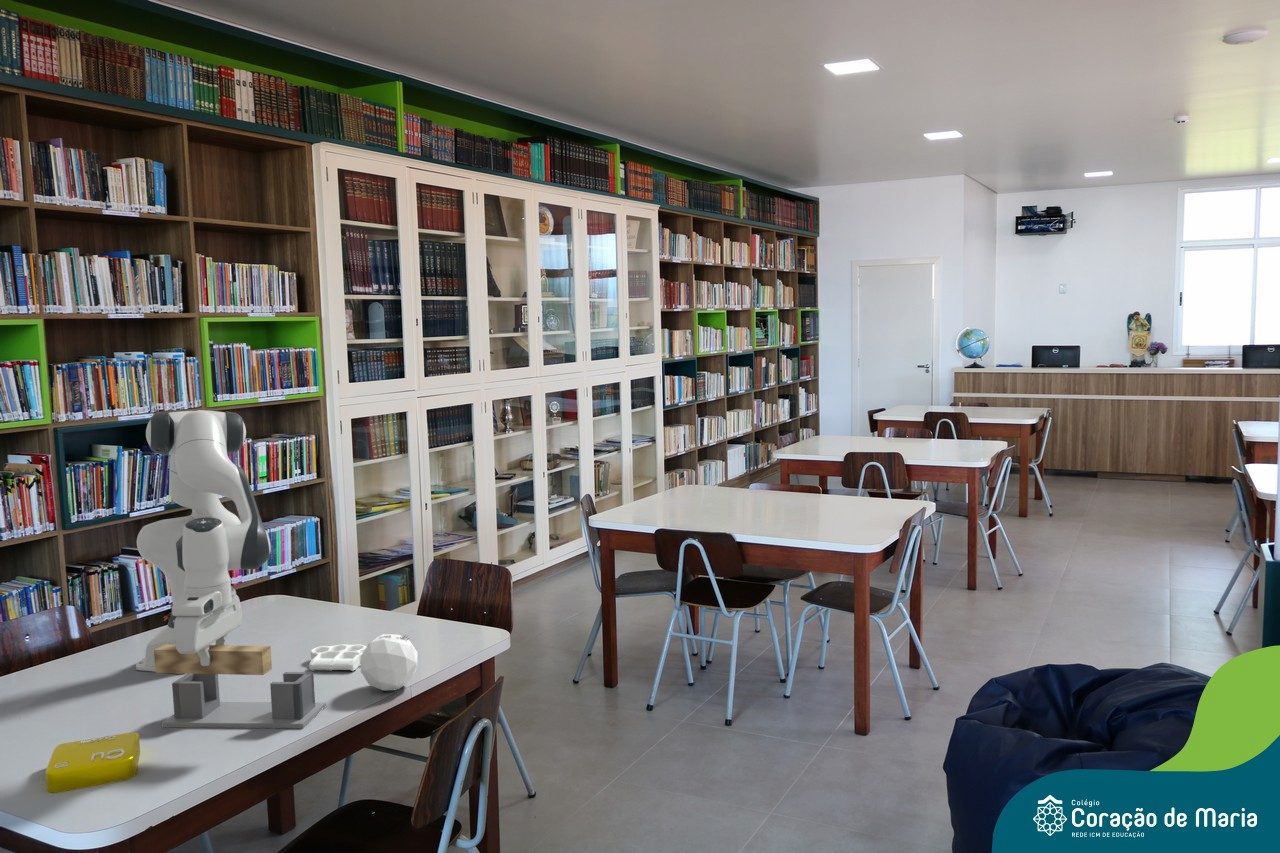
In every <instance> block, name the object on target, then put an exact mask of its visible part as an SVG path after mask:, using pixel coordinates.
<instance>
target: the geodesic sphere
mask: <svg viewBox="0 0 1280 853" xmlns="http://www.w3.org/2000/svg"><path fill="white" fill-rule="evenodd" d="M409 639H410V637H409V634H405V635H400V634H391V633H390V634H387V633H386V634H385V633H382V634H380V635H379V636H377V637H376V638H374V639H373V640H372V641H370V642H369V643H367V645H366V646H367V647H366V649H365V651H364V652H363V654H362V656H361V666H360V673H361V674H362V676H363V677H364V680H366V682H367V684H368V686H369V685H370V686H372V687H373V688H376V689H378V690H380V689H381V691H385V692H386V691H395V690H394V689H398V688H399V689H401V688H402V687H404V686H405V685H406V684H407V683H409V682H410V681H411V680H412V679H413V677H414V675H415V674H416V671H417V669H418V660H419V659H418V658H419V655H418V654H419V652H418V651H417V649H416V648H415V646H414V645H413V644H412V641H410V640H409ZM399 689H398V690H399Z"/></svg>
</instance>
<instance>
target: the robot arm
mask: <svg viewBox="0 0 1280 853" xmlns="http://www.w3.org/2000/svg"><path fill="white" fill-rule="evenodd" d="M244 422H245V421H244V419H243V417H241V415H239V413H237V412H234V411H233V412H232V411H227V410H226V411H225V412H224V411H218V410H205V409H202V410H201V409H197V410H183V411H182V410H181V411H180V410H179V411H173V412H169V411H168V410H167V411H161V412H157V413H154V414H153V415H152V416H150V419H149V421H148V423H147V426H146V429H145V438H146V441H147V443H148V446H149V448H150V450H151V451H152V452H153V453H155V454H157V455H158V454H159V455H163V456H168V455H170V456H169V470H168V471H169V474H168V476H169V480H168V494H169V497H170V498H171V500H172V501H173V502H174V503H175V504H178V506H181V507H184V508H188V509H190V510H192V512H191V514H190V515H187V516H181V517H180V516H179V517H174V518H166V519H165V518H164V519H161V520H157V521H154V522H151V523H148V524H146V525H143V526H142V527H141V529H140V531H139V532H138V534H137V537H136V548H137V551H138V552H139V554H140V556H141V557H142V559H144V560H145V561H146V562H148V563H151V564H153V565H154V566H155V567H157V568H158V569H159V570H160V571H161V572H162V573H163V575H164V576H165V577H166V580H167V581H168V583H169V588H170V594H171V600H172V607H171V612H169V613H167V615H165V616H163V618H164V619H163V621H164V622H166V621H167V620H168V622H167V626H165V627H164V628H163V629H162V630H161V631H160V632H159V633H158V634H156V635H155V636H154V637H153V638H152V639H150V640H149V641H148V643H147V644H146V648H145V654H144V658H142V659H140V660H139V661H138V662H137V663H136V665H135V670H136V671H143V672H144V671H145V672H155V673H156V671H155V658H154V650H155V649H156V648H158V647H160V646H162V645H164V644H167V645H176V649H177V651H178V652H179V653H180V654H194V653H196V652H197V654H198V655H199V657H200V662H201V665H202V666H208V665H210V664H211V663H212V655H209V652H208V650H209V645H227V640H228V634H229V633H231V632H232V631H234V630H235V629H237V628H239V627H240V626H241V625H242V623H243V613H242V605H241V602H240V601H241V600H240V597H239V596H238V594H237V591H236V589H235V588H234V587H233V586H232V585H231V584H232V582H231V577H230V573H229V571H233V570H234V571H237V570H241V571H242V570H258V569H259V568H261V567H262V566H263V565H264V564H266V562H267V561H268V560H269V559H270V555H271V551H272V550H271V549H272V548H271V546H272V545H271V540H270V536H269V534H268V532H267V530H266V528H265V526H264V523H263V521H262V516H261V515H260V512H259V508H258V506H257V501H256V499H255V496H254V492H253V491H252V488H251V484H250V481H249V480H248V477H247V474H246V473H245V471H244V468H242V467H241V466H238V465H236V464H234V463H233V462H232V460H231V459H230V457H229V454H233V453H237V452H239V450H241V449H242V448H243V445H244V443H245V440H246V437H247V430H246V425H245V423H244ZM219 496H222V497H224V498H228V499H230V500H231V501H233V503H234V504H235V507H236V510H237V513H238V516H237V515H236V514H235V513H233V512H231V511H230V510H228V509H227V508H225V506H224V505H223V504H222V502H221V500H220V498H219ZM177 674H179V675H180V674H182V673H177ZM182 675H183V674H182Z"/></svg>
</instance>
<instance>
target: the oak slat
mask: <svg viewBox="0 0 1280 853" xmlns="http://www.w3.org/2000/svg"><path fill="white" fill-rule="evenodd" d="M271 649H272V648H271V646H270V645H227V644H225V645H209V650H208V652H209V655H212V663H211V664H210V665H208V666H202V665H201V662H200V657H199V655H198V654H197V652H196V653H194V654H180V653H179V652H178V651H177V649H176V645H167V644H164V645H162V646H160V647H158V648H156V649H155V650H154V658H155V671H156V672H155V674H178V673H182V675H183V674H185V675H186V674H218V675H237V676H238V675H240V676H241V675H245V676H249V675H250V676H264V675H266V674H267V673H269V672H271V670H273V666H272V652H271V651H272V650H271Z"/></svg>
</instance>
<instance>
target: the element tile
mask: <svg viewBox="0 0 1280 853" xmlns="http://www.w3.org/2000/svg"><path fill="white" fill-rule="evenodd" d="M140 743H141V742H140V735H139V733H138V732H136V731H131V732H126V733H125V732H124V733H119V734H114V735H113V734H112V735H107V736H102V737H101V736H99V737H94V738H90V739H83V740H76V741H72V742H70V741H69V742H65V743H60V744H58V745H57V746H56V747H55V748H54V749H53V752H52V753H51V757H50V759H49V761H48V764H47V766H46V770H45V782H46V790H47V792H48V793H49V794H58V793H64V792H68V791H74V790H80V789H85V788H91V787H96V786H101V785H107V784H111V783H117V782H118V783H119V782H123V781H127V780H130V779H132V778H134V777H135V776H136V775H137V772H138V768H139V767H138V765H139V760H140V757H141V756H140V755H141V744H140Z"/></svg>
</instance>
